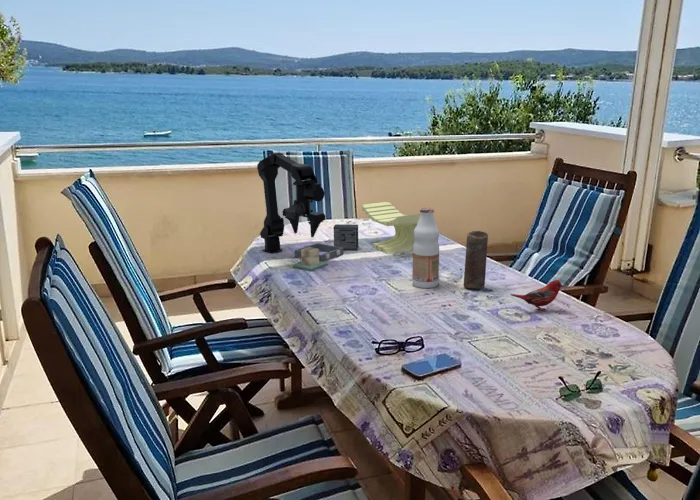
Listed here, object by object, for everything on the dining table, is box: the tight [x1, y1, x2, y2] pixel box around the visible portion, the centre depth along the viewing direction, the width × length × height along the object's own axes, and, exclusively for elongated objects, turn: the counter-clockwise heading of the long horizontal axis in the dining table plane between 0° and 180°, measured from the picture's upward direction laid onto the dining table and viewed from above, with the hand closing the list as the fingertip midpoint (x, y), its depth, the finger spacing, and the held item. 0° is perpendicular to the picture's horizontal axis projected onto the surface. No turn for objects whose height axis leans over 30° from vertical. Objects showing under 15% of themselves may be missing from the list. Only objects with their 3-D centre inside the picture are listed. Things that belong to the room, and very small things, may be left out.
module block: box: [300, 247, 320, 266], centre depth 243 cm, size 5×5×6 cm
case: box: [294, 242, 344, 262], centre depth 258 cm, size 15×15×3 cm
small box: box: [333, 223, 359, 251], centre depth 268 cm, size 11×6×10 cm, turn 84°
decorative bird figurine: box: [510, 279, 564, 312], centre depth 192 cm, size 3×18×10 cm, turn 99°
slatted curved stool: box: [361, 201, 421, 255], centre depth 266 cm, size 30×16×18 cm, turn 28°
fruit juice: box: [411, 206, 440, 289], centre depth 216 cm, size 9×9×28 cm
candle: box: [463, 230, 489, 290], centre depth 213 cm, size 8×7×20 cm
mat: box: [292, 261, 329, 272], centre depth 244 cm, size 10×10×1 cm
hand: (303, 235), depth 246 cm, fingers open, 9 cm apart
